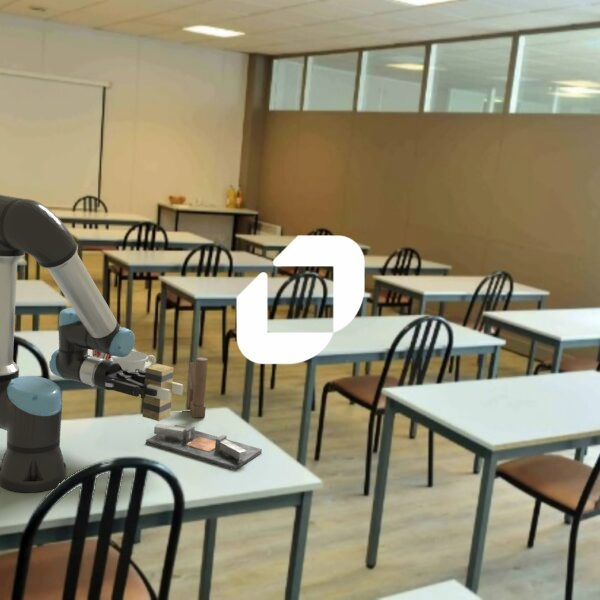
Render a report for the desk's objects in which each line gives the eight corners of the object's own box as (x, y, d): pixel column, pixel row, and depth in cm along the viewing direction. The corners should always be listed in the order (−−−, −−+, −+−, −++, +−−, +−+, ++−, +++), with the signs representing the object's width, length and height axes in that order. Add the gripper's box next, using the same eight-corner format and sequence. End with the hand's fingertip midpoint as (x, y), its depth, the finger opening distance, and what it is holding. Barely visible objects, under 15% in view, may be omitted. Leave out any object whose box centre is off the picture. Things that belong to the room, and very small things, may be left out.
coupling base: (144, 442, 201) (145, 427, 201) (174, 427, 214) (175, 413, 213) (236, 470, 190) (238, 454, 189) (262, 453, 202) (263, 437, 202)
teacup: (159, 388, 246) (161, 359, 244) (115, 392, 239) (116, 362, 237) (148, 377, 256) (149, 349, 254) (105, 380, 249) (106, 351, 247)
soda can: (109, 362, 269) (110, 330, 266) (89, 360, 269) (90, 328, 266) (114, 357, 276) (115, 325, 273) (95, 355, 276) (96, 323, 273)
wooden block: (197, 405, 234) (201, 350, 230) (205, 417, 224) (209, 360, 221) (186, 405, 233) (190, 350, 229) (193, 418, 223) (197, 360, 219)
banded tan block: (142, 416, 190) (145, 367, 187) (154, 411, 194) (157, 363, 192) (158, 421, 188) (162, 371, 185) (170, 415, 192) (173, 367, 190)
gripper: (123, 379, 205) (194, 398, 196) (77, 395, 189) (153, 416, 180) (124, 353, 204) (196, 370, 195) (79, 367, 188) (155, 386, 178)
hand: (175, 392), depth 187 cm, fingers closed on banded tan block, 5 cm apart
